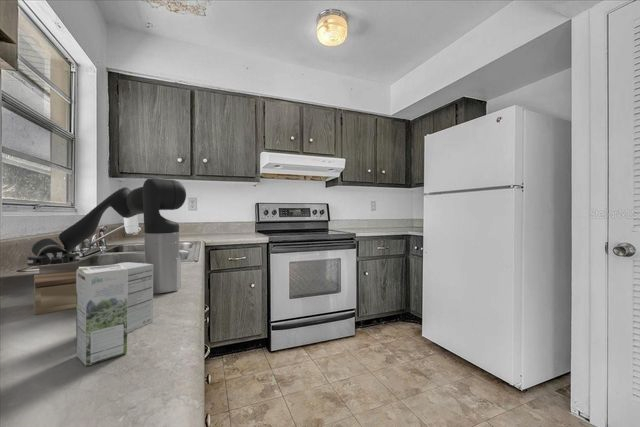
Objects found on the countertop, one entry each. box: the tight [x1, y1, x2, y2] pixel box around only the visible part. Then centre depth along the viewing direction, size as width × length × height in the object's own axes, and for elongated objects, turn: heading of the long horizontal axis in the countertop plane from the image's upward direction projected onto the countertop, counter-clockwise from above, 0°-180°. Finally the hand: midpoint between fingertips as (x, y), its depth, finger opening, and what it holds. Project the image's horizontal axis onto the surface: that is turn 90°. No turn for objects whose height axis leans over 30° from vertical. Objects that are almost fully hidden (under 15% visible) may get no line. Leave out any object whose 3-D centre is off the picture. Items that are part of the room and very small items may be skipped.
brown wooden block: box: [33, 261, 80, 287], centre depth 76 cm, size 14×10×3 cm
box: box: [33, 282, 76, 316], centre depth 75 cm, size 12×10×6 cm
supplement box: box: [112, 261, 154, 334], centre depth 61 cm, size 7×7×13 cm
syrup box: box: [75, 263, 128, 367], centre depth 49 cm, size 6×6×14 cm
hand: (56, 262), depth 88 cm, fingers closed
